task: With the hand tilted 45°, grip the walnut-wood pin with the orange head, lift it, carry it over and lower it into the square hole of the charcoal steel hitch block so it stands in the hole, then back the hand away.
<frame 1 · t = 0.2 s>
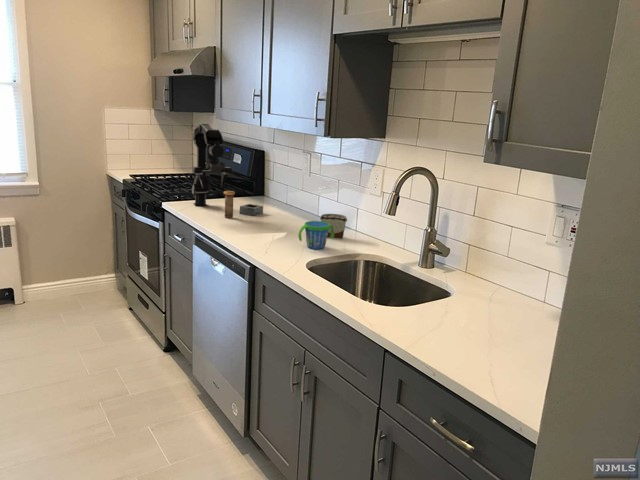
hand: (212, 187, 249), 14 cm above the worktop, tool pointing down, fingers open, 9 cm apart
pin: (228, 217, 252), on the worktop
snack cup: (315, 247, 210), on the worktop
hitch block: (251, 213, 264), on the worktop
food container: (332, 236, 229), on the worktop
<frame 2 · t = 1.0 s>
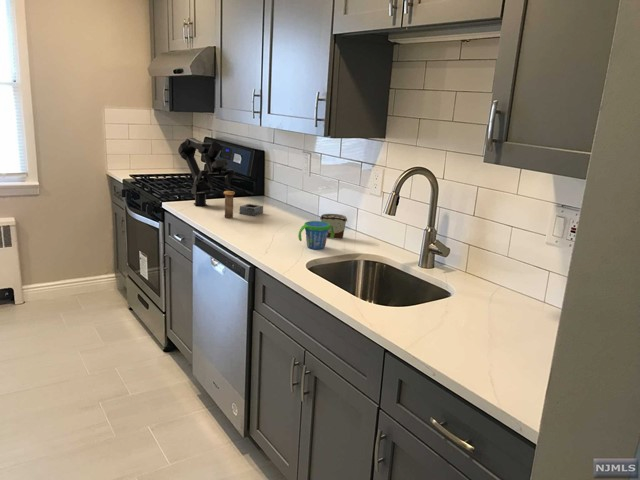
hand: (221, 188, 255), 13 cm above the worktop, tool tilted 45°, fingers open, 9 cm apart
nothing on the worktop moved.
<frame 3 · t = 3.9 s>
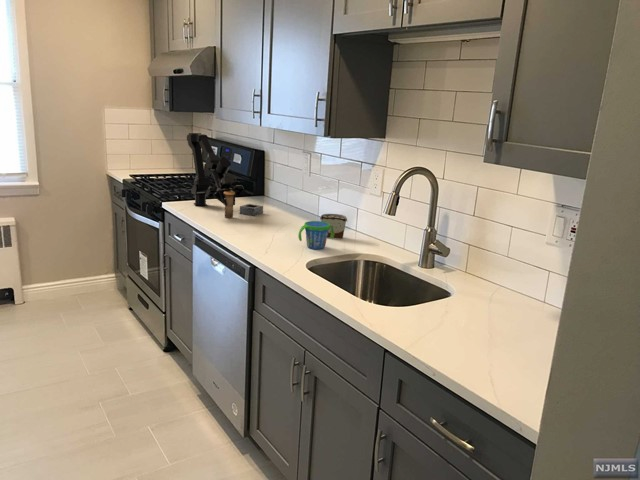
hand: (230, 205, 250), 7 cm above the worktop, tool tilted 45°, fingers closed on pin, 4 cm apart
pin: (228, 217, 252), on the worktop, touching gripper
everything else where it was.
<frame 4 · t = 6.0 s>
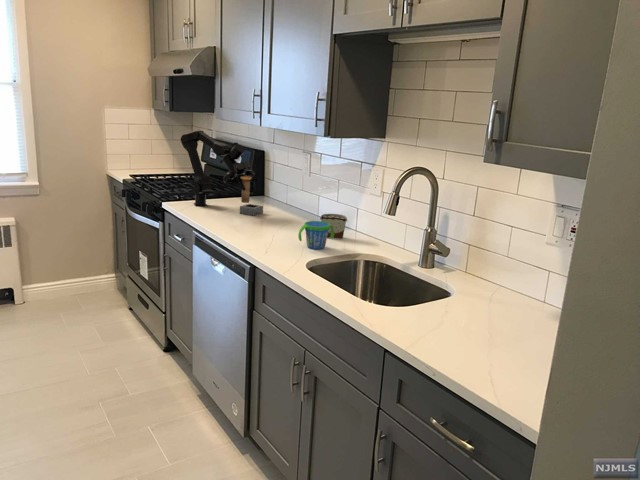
hand: (247, 189, 256), 13 cm above the worktop, tool tilted 45°, fingers closed on pin, 4 cm apart
pin: (245, 202, 258), point 7 cm above the worktop, touching gripper
everything else where it was.
when the fingers open (8 cm above the worktop, at t = 8.1 s): pin drops 1 cm, resting in hitch block.
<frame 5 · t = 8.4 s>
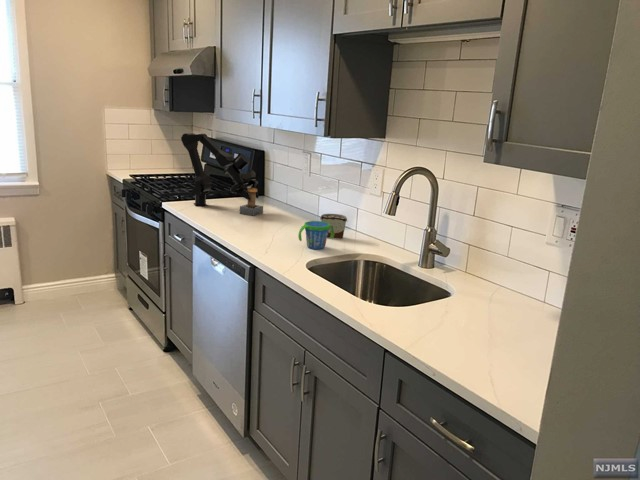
hand: (254, 198, 262), 8 cm above the worktop, tool tilted 45°, fingers open, 8 cm apart
pin: (250, 213, 264), resting in hitch block
everything else where it was.
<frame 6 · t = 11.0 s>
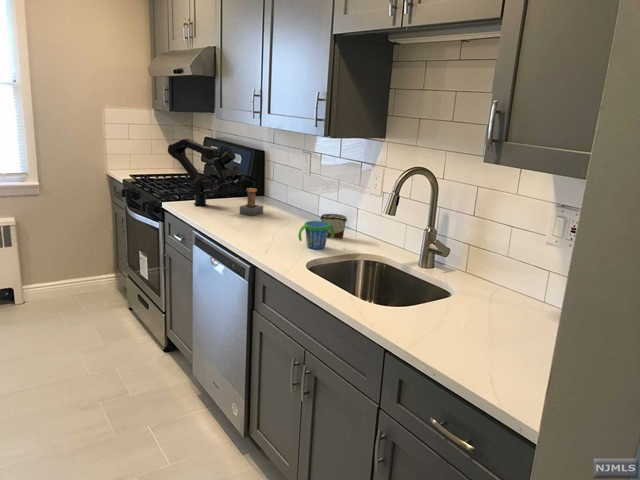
hand: (236, 195, 265), 9 cm above the worktop, tool tilted 40°, fingers open, 9 cm apart
nothing on the worktop moved.
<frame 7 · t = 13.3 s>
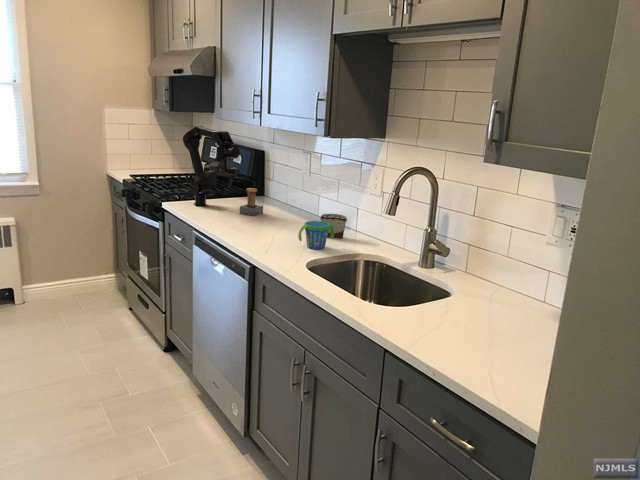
hand: (221, 186, 263), 13 cm above the worktop, tool pointing down, fingers open, 9 cm apart
nothing on the worktop moved.
at the end: pin 0.2 cm from the hitch block (horizontally); pin resting in hitch block; pin tilted 0° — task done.
